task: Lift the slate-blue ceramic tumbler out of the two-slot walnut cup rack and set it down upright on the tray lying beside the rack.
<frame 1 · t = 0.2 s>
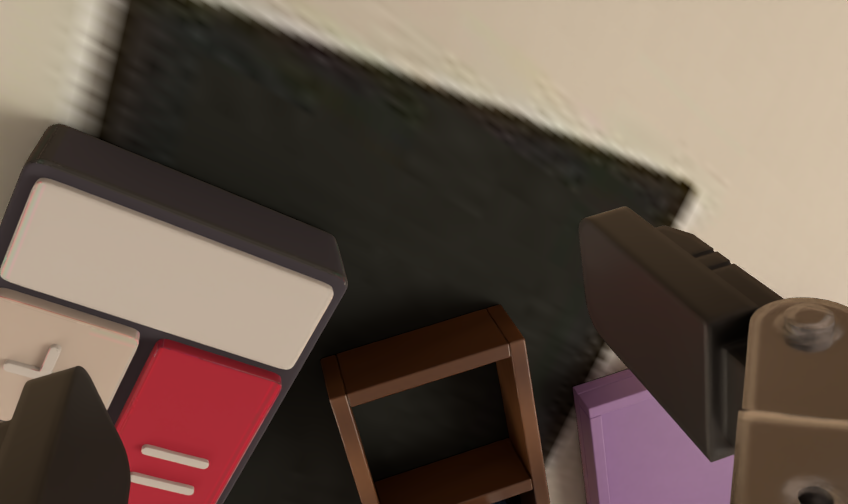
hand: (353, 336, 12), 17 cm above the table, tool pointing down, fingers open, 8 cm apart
rack: (443, 464, 37), on the table
tray: (691, 456, 41), on the table
calculator: (129, 343, 30), on the table
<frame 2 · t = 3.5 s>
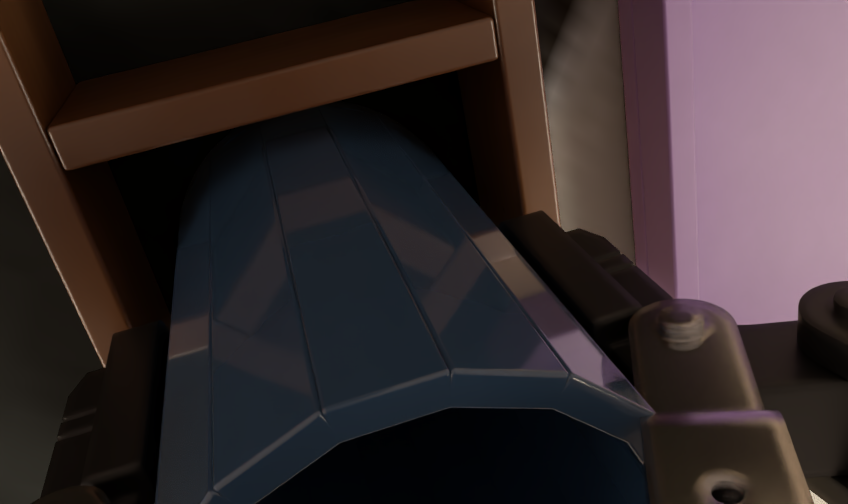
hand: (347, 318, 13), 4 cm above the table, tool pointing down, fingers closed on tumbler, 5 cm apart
tumbler: (321, 233, 16), resting in rack, touching gripper
rack: (270, 54, 14), on the table
when the fingers open (4 cm above the table, at t = 9.8 s): tumbler stays where it is, resting on tray.
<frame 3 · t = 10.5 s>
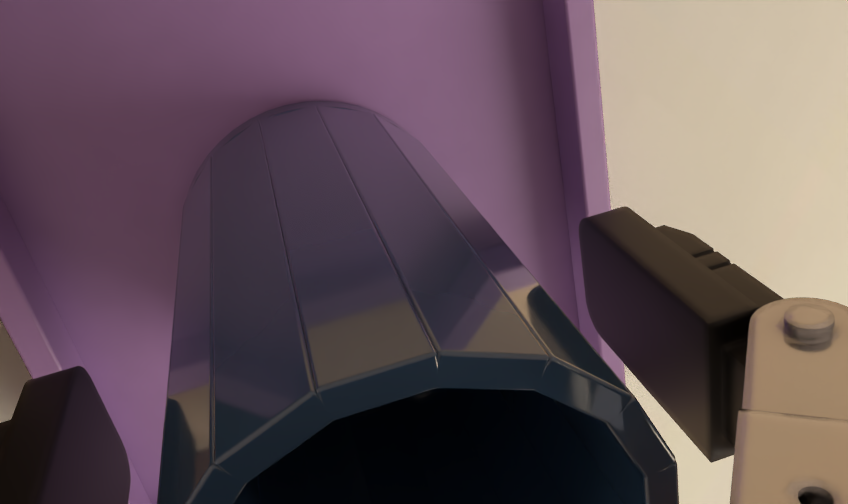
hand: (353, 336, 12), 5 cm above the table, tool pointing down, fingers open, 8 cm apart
tumbler: (319, 230, 16), point 1 cm above the table, touching tray
tray: (315, 217, 17), on the table
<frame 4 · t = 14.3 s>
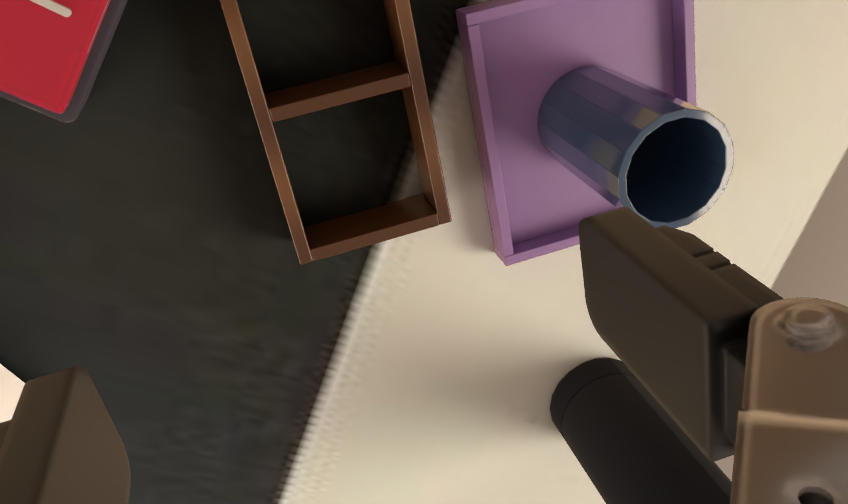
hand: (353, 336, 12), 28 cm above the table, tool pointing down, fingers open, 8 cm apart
tumbler: (584, 116, 42), point 1 cm above the table, touching tray
rack: (332, 83, 39), on the table
black water bottle: (592, 396, 52), on the table
tray: (579, 112, 43), on the table
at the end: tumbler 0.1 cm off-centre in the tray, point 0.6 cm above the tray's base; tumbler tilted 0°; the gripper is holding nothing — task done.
